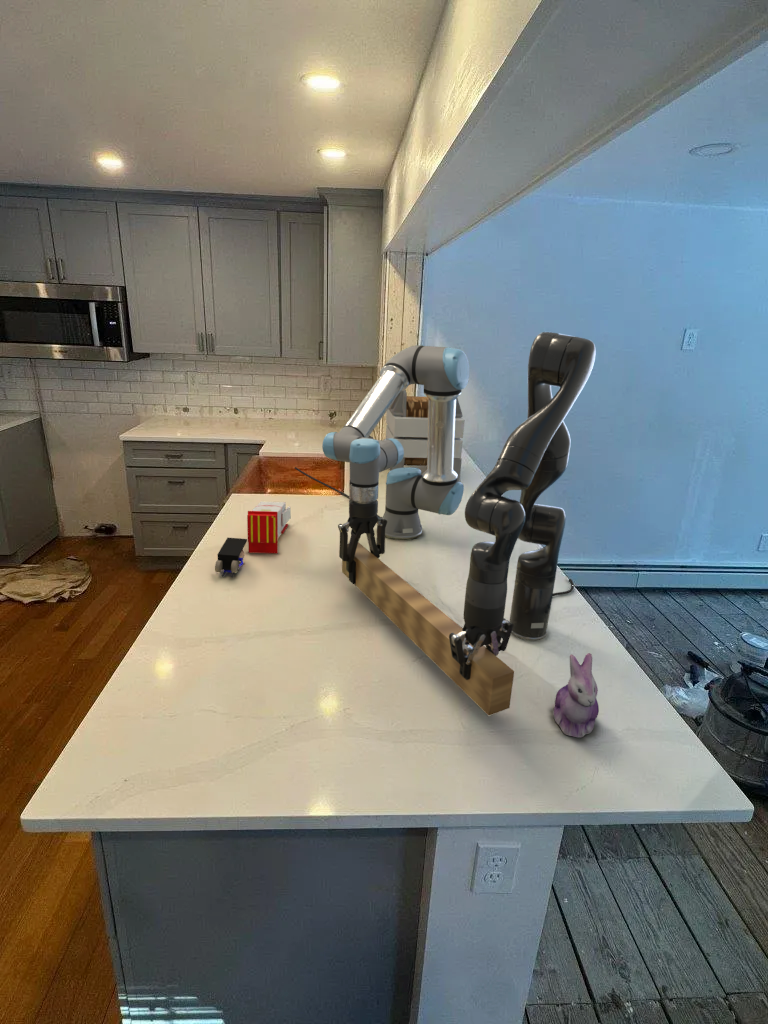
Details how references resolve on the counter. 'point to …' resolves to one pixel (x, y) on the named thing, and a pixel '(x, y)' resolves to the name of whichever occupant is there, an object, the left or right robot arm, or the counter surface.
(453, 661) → the bar
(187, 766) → the counter surface
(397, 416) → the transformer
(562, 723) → the figurine
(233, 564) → the figurine character
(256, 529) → the toy
